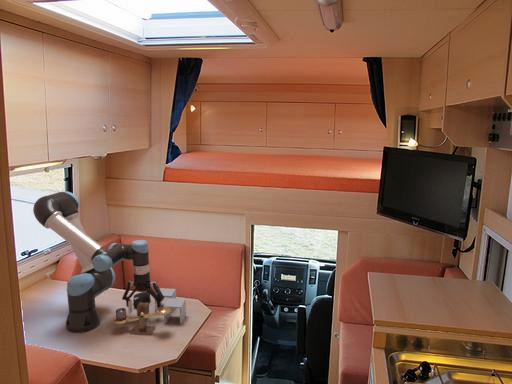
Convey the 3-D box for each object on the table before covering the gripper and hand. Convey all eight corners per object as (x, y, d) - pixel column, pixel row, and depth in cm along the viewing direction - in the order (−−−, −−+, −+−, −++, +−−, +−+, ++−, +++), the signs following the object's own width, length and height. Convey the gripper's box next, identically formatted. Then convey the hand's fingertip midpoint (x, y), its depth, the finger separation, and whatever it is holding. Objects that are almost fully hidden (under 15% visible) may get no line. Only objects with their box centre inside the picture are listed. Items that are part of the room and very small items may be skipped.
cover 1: (155, 311, 205) (154, 295, 203) (160, 304, 213) (159, 288, 212) (171, 312, 204) (171, 296, 203) (176, 304, 213) (175, 288, 211)
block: (137, 319, 197) (136, 306, 195) (140, 315, 201) (140, 302, 200) (146, 320, 196) (145, 307, 195) (149, 315, 201) (148, 302, 199)
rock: (134, 309, 207) (134, 299, 206) (132, 301, 216) (132, 291, 215) (152, 307, 210) (152, 296, 209) (149, 298, 219) (149, 288, 218)
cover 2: (164, 323, 194) (163, 306, 192) (169, 314, 202) (168, 298, 200) (181, 324, 193) (181, 307, 191) (186, 315, 202) (185, 298, 200)
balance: (111, 333, 184) (110, 311, 182) (117, 325, 191) (116, 303, 189) (169, 336, 182) (168, 314, 180) (173, 328, 189) (172, 306, 187)
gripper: (113, 274, 191) (116, 315, 195) (164, 275, 190) (166, 317, 194) (119, 268, 199) (122, 308, 203) (169, 269, 197) (171, 310, 201)
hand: (144, 313), depth 198 cm, fingers open, 13 cm apart
